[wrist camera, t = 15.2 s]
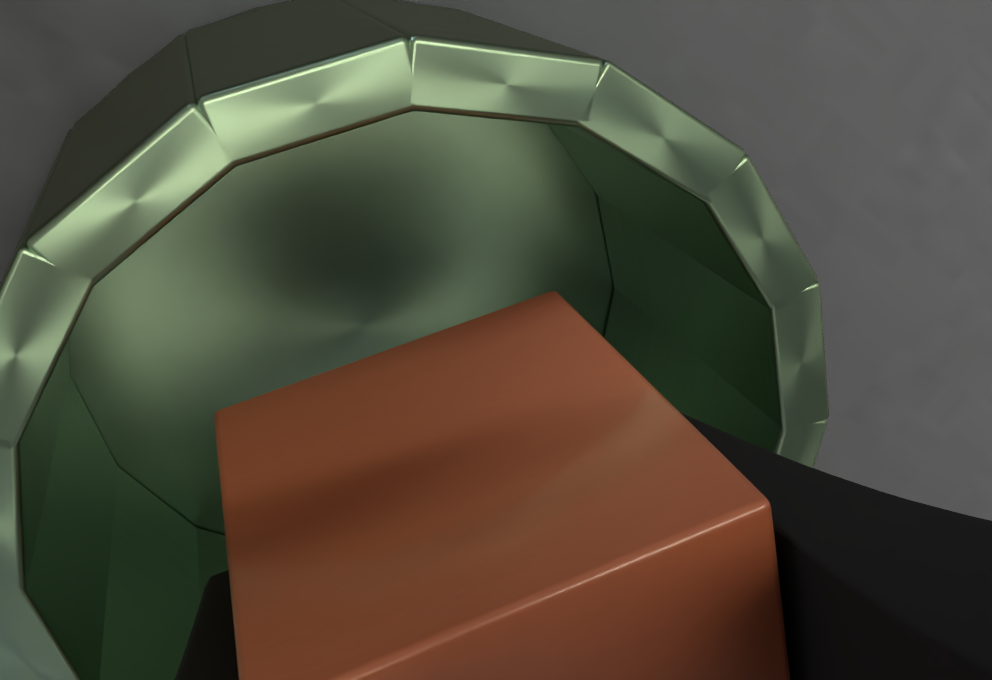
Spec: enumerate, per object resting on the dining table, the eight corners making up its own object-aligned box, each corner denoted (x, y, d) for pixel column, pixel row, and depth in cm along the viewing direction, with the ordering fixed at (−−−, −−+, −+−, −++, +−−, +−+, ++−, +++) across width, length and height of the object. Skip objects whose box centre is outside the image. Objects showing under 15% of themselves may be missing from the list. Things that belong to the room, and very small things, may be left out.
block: (613, 550, 14) (811, 834, 10) (327, 668, 13) (404, 1033, 9) (555, 285, 12) (774, 499, 8) (210, 409, 11) (239, 722, 7)
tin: (672, 452, 22) (846, 640, 16) (175, 651, 20) (179, 942, 14) (580, -86, 16) (795, -82, 11) (-120, 114, 14) (-303, 246, 9)
